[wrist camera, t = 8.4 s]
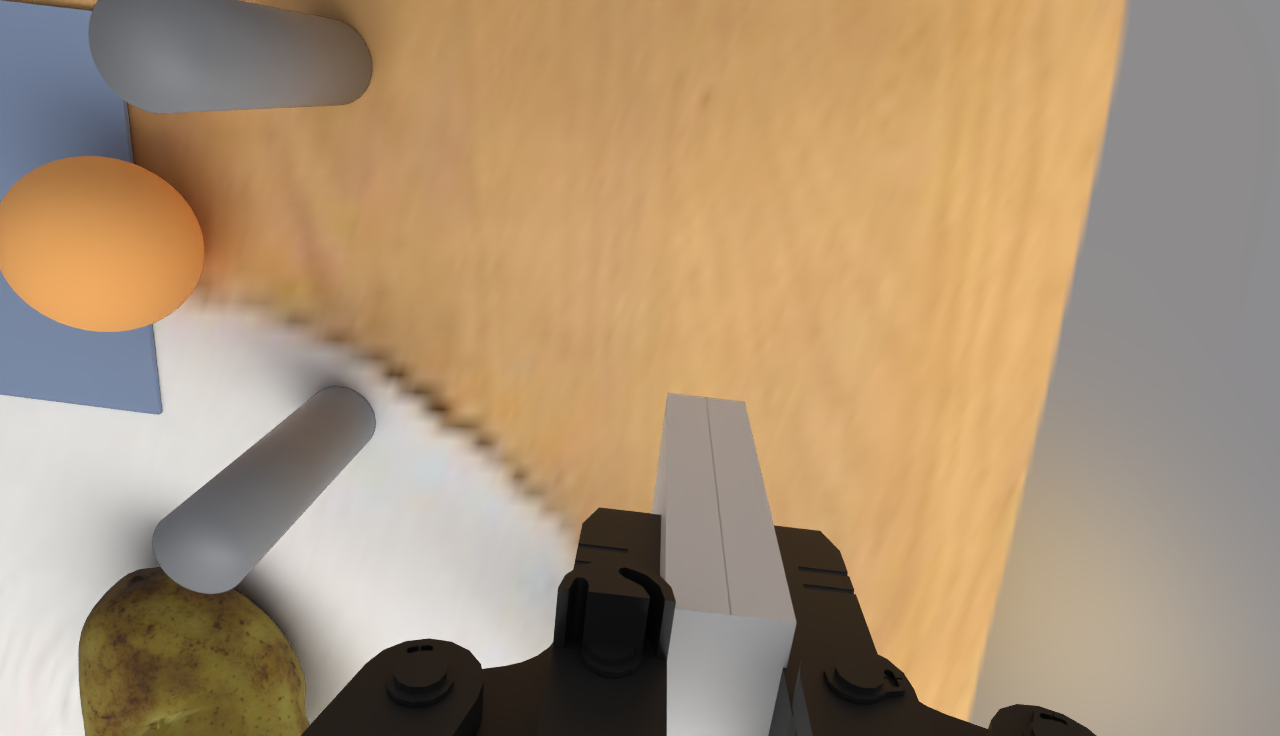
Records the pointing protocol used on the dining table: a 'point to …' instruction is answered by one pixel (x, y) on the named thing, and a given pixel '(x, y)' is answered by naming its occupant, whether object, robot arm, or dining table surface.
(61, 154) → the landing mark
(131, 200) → the ball
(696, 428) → the robot arm
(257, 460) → the post
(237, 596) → the potato
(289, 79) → the post
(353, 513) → the dining table surface
